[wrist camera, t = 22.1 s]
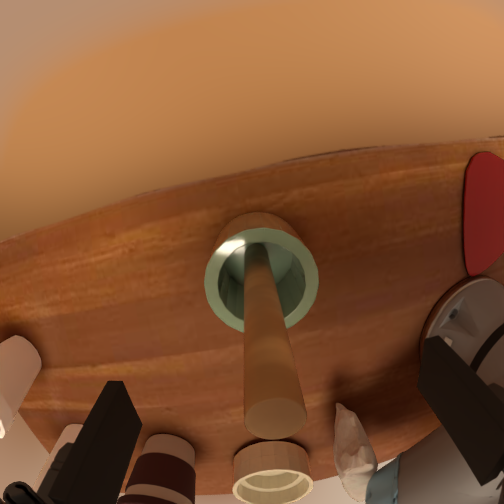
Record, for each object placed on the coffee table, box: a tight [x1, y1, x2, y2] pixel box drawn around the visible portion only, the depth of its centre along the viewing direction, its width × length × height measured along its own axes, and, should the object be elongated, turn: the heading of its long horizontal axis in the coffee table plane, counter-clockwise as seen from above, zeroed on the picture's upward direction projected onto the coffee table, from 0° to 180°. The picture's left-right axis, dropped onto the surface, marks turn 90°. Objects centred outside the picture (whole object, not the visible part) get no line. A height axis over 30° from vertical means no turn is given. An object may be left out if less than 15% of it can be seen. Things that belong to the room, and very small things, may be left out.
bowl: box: [232, 441, 313, 504], centre depth 36 cm, size 11×11×6 cm
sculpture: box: [333, 403, 378, 502], centre depth 30 cm, size 17×5×15 cm, turn 19°
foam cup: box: [0, 335, 42, 438], centre depth 28 cm, size 10×9×13 cm
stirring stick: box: [244, 244, 307, 439], centre depth 20 cm, size 2×2×21 cm
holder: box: [204, 212, 319, 333], centre depth 27 cm, size 8×8×8 cm
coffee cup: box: [117, 434, 196, 504], centre depth 31 cm, size 10×10×15 cm
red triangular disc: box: [463, 152, 504, 276], centre depth 30 cm, size 14×15×1 cm
